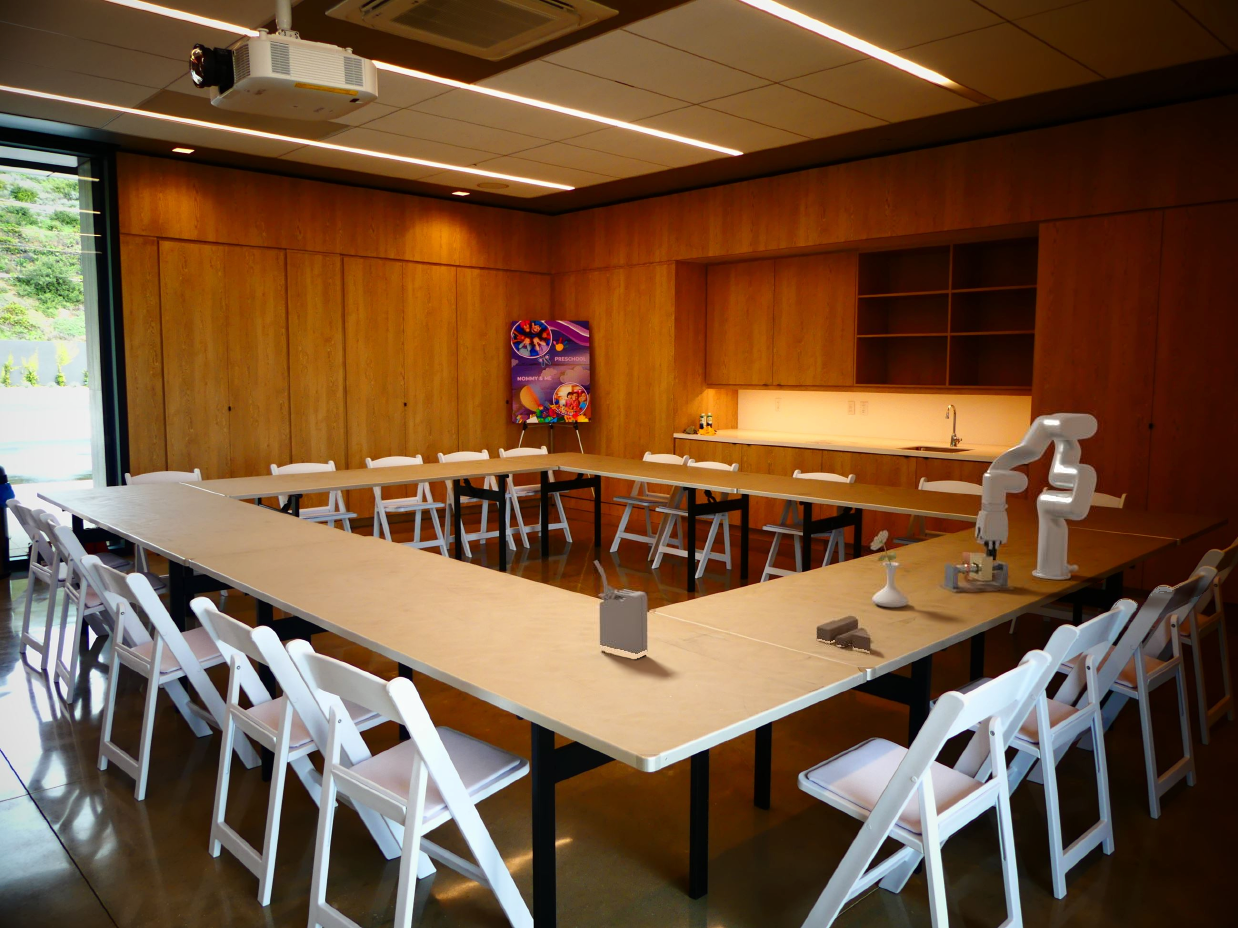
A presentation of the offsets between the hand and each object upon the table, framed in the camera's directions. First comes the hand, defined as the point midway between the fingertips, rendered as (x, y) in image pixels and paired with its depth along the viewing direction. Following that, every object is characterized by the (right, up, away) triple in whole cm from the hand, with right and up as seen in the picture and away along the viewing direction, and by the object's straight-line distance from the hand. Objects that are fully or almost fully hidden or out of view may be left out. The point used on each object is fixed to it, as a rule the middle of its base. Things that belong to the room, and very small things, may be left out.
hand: (991, 559), depth 305 cm
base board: (-5, -10, 0) cm, 11 cm away
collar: (-4, -6, 0) cm, 7 cm away
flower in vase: (-43, -13, -22) cm, 50 cm away
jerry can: (-130, -18, -68) cm, 147 cm away
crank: (0, -9, +17) cm, 19 cm away
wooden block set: (-63, -17, -59) cm, 87 cm away
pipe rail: (-5, -10, 0) cm, 11 cm away
